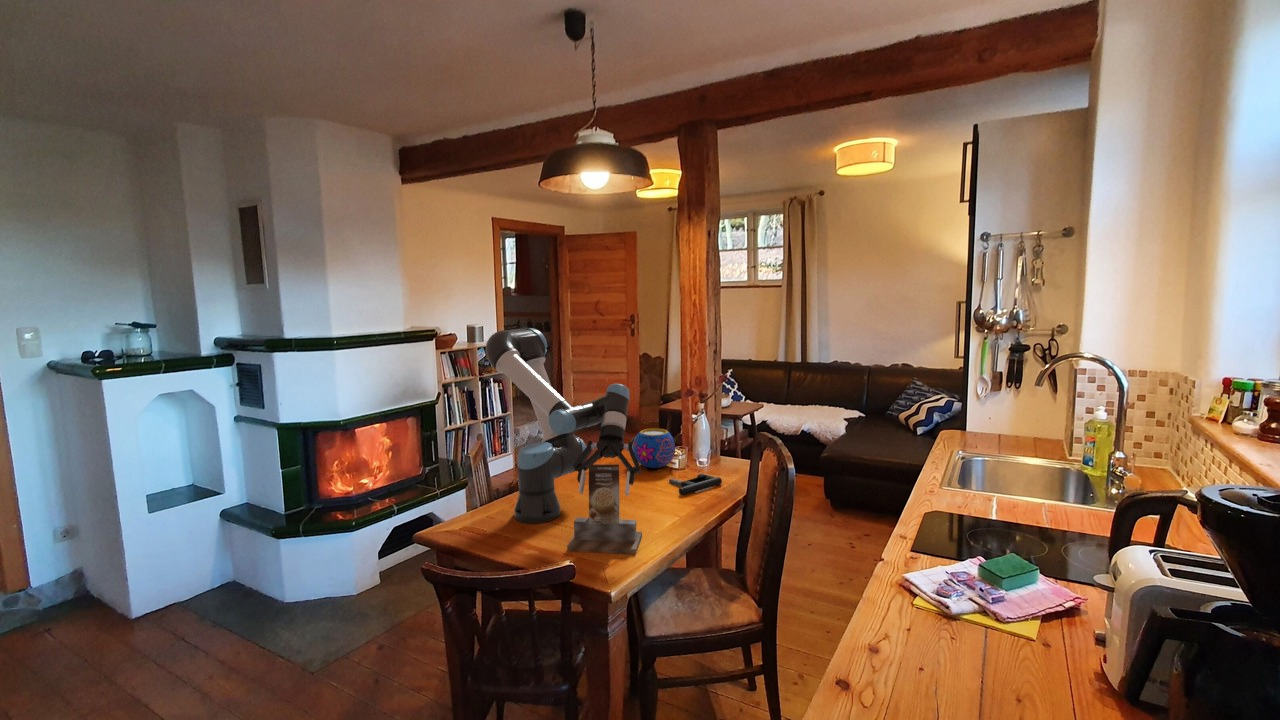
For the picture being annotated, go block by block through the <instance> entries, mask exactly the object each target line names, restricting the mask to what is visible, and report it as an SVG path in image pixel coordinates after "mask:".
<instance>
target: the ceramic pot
mask: <svg viewBox="0 0 1280 720" xmlns="http://www.w3.org/2000/svg"><path fill="white" fill-rule="evenodd" d="M630 442H632V444H633V451H634V454H635V456H636V458H637V461H638V463H639V465H640V466H643V467H646V468H649V469H659V468H664V467H665V466H667V465H669V464H670V463H672V461H673V459H674V456H675V454H676V443H675V440H674V438H673V436H672V434H671V432H669V431H668V430H667V429H663V428H656V427H655V428H646V429H642V430H640V431H638V433H637V435H636V436H635V437H633V438H632V439H631V441H630ZM674 453H675V454H674Z"/></svg>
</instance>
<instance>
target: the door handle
mask: <svg viewBox="0 0 1280 720" xmlns="http://www.w3.org/2000/svg"><path fill="white" fill-rule="evenodd" d="M668 479H669V480H668V482H669V484H671V485H675V486H677V487H680V488H678V494H679V495H680V496H687V495H690V494H693V493H695V494H698V493H701V492H704V491H707V490H710V489H713V488H714V487H716V486H720V485H722V484H723V483H722V482H723V479H722V478H721V477H718V476H716V477H715V476H711V475H707V474H704V473H699V474H698V475H697V476H696V477H694V478H691V479H687V480H684V481H682V480H679V479H676V478H668Z"/></svg>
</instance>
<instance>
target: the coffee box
mask: <svg viewBox="0 0 1280 720" xmlns="http://www.w3.org/2000/svg"><path fill="white" fill-rule="evenodd" d="M620 503H621V501H620V464H595V463H594V464H590V465H589V468H588V518H589V524H619V519H620V512H621V511H620V509H621V508H620V507H621V506H620Z"/></svg>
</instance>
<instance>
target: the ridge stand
mask: <svg viewBox="0 0 1280 720" xmlns="http://www.w3.org/2000/svg"><path fill="white" fill-rule="evenodd" d="M573 530H574V531H573V535H572V537H571V539H570V541H568V544H567V545H566V550H567V552H568V551H569V552H581V553H582V552H584V553H585V552H586V553H601V554H602V553H604V554H622V555H623V554H624V555H625V554H626V555H637V553H638V550H639V546H640V544H641V541H642V538H643V531H637V520H636V519H624V518H623V519H620V518H619V524H589V517H575V519H574V520H573Z"/></svg>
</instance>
